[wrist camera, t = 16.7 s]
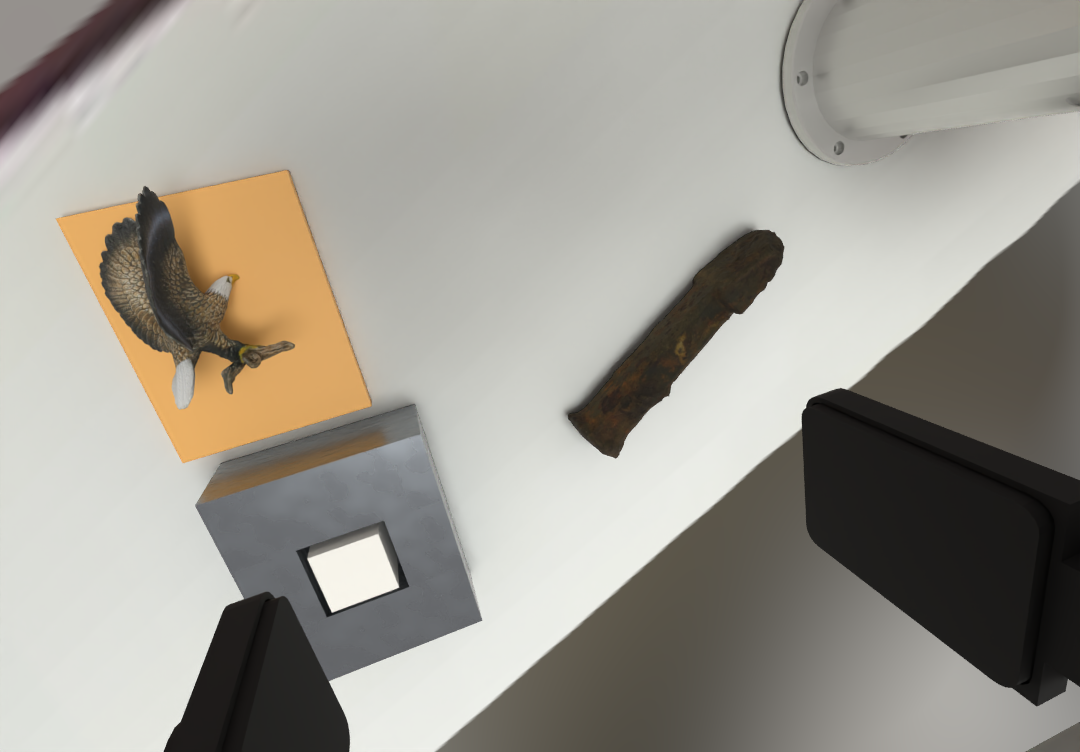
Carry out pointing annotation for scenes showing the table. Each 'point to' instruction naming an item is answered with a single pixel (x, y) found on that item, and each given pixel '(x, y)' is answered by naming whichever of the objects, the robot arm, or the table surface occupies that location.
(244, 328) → the pad
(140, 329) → the eagle figurine
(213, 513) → the breaker box
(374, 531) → the button
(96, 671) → the table surface
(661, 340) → the hand tool
